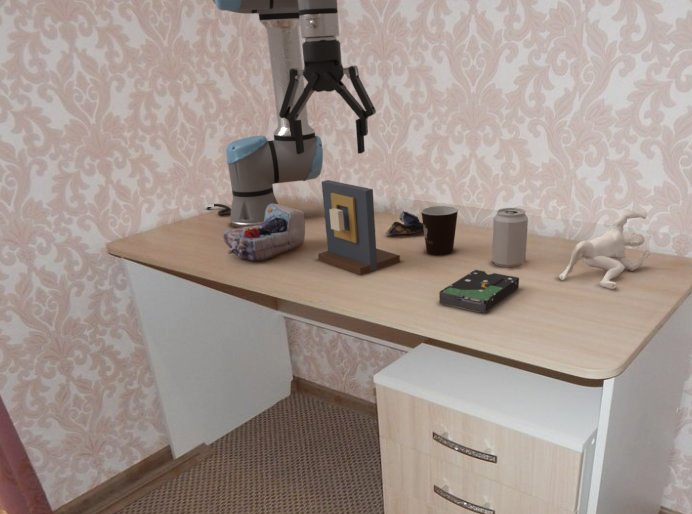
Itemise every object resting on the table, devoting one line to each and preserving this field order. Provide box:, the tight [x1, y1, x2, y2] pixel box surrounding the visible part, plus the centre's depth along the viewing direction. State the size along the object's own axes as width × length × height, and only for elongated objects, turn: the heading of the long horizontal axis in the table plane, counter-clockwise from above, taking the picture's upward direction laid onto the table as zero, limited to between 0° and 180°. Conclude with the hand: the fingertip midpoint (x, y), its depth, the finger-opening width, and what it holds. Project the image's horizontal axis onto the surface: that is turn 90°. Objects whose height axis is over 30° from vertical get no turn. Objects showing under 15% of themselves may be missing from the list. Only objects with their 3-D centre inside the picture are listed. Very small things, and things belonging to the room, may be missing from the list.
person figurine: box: [559, 210, 652, 290], centre depth 131 cm, size 13×13×18 cm
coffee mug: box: [420, 205, 459, 257], centre depth 150 cm, size 12×9×10 cm
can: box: [491, 207, 529, 268], centre depth 139 cm, size 8×8×12 cm
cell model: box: [222, 203, 306, 262], centre depth 155 cm, size 13×11×20 cm
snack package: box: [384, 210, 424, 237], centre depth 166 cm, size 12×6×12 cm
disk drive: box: [438, 269, 520, 313], centre depth 124 cm, size 10×3×15 cm
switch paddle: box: [329, 208, 344, 231], centre depth 140 cm, size 1×3×4 cm, turn 42°
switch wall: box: [317, 179, 401, 276], centre depth 144 cm, size 12×16×18 cm
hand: (330, 153), depth 133 cm, fingers open, 13 cm apart
